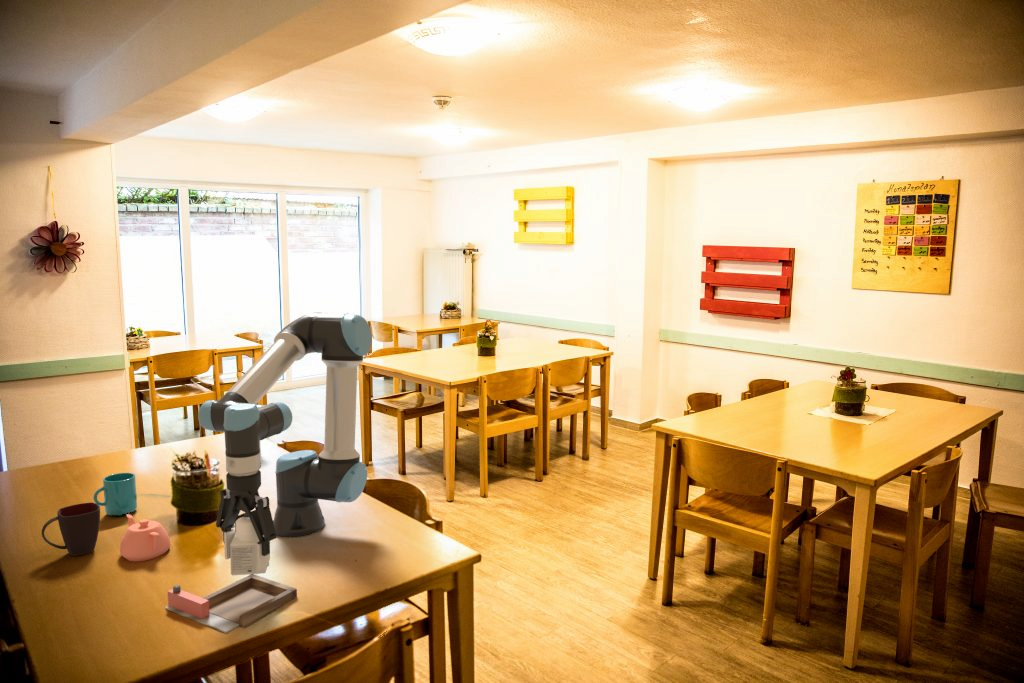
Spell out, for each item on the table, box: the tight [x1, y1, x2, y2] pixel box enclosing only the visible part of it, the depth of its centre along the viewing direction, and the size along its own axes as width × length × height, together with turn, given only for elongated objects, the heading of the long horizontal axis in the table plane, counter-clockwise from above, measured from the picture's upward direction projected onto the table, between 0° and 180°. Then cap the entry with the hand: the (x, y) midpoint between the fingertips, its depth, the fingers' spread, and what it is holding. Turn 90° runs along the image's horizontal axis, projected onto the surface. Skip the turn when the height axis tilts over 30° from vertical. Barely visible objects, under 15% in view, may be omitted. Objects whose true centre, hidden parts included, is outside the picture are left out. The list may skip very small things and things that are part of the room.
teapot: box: [119, 513, 171, 563], centre depth 195 cm, size 12×18×10 cm
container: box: [230, 512, 271, 576], centre depth 167 cm, size 8×8×13 cm
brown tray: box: [164, 574, 298, 634], centre depth 168 cm, size 23×19×2 cm
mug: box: [41, 502, 101, 557], centre depth 194 cm, size 10×14×12 cm
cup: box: [92, 472, 138, 516], centre depth 224 cm, size 9×12×11 cm
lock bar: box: [167, 584, 210, 619], centre depth 164 cm, size 12×2×5 cm, turn 61°
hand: (246, 562), depth 166 cm, fingers closed on container, 10 cm apart
